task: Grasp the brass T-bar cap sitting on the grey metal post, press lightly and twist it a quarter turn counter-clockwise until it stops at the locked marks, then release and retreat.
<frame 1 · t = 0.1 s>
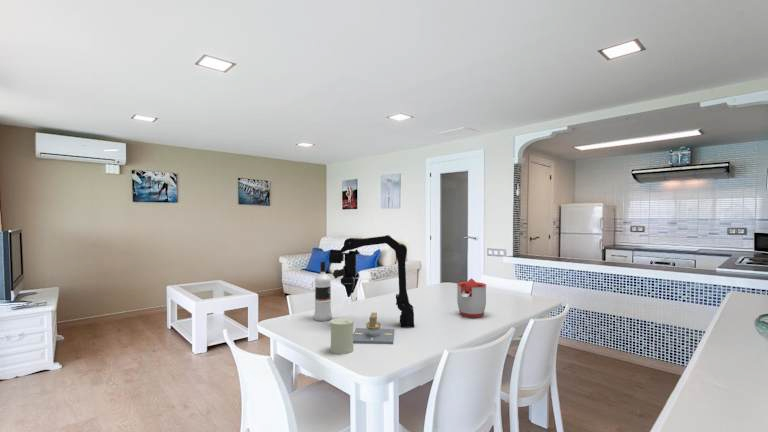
hand: (350, 295, 182), 15 cm above the table, fingers open, 9 cm apart
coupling: (373, 321, 163), point 7 cm above the table, hinge at 0.0°
can: (342, 350, 147), on the table
post base: (373, 336, 163), on the table
citrus juicer: (470, 316, 198), on the table
vodka: (322, 319, 192), on the table
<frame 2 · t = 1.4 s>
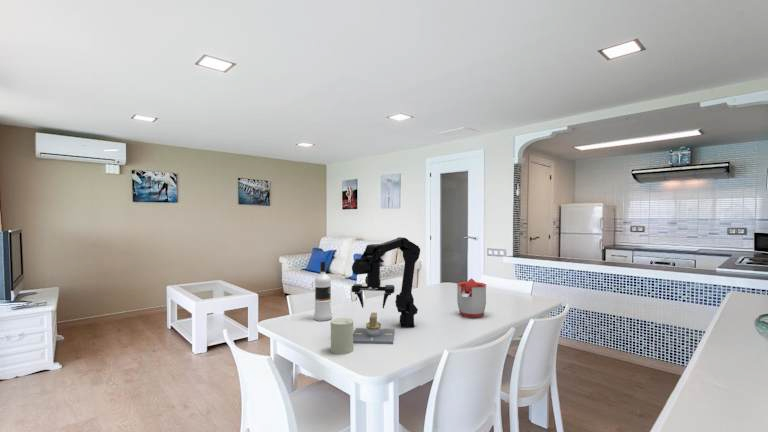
hand: (373, 307, 164), 12 cm above the table, fingers open, 9 cm apart
nothing on the table moved.
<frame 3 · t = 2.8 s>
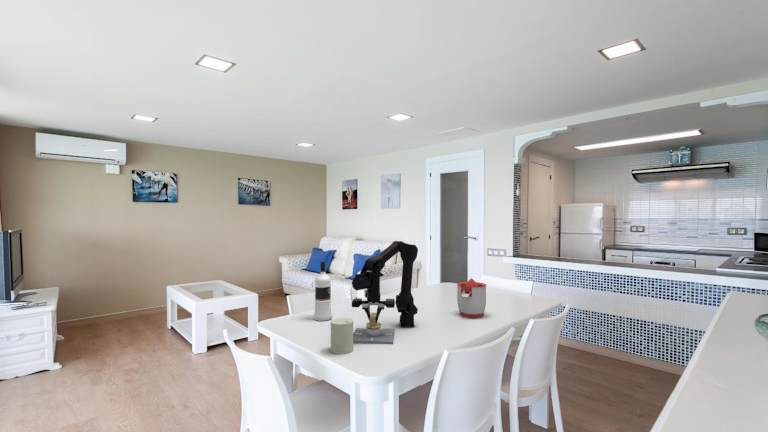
hand: (373, 322, 163), 6 cm above the table, fingers closed on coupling, 2 cm apart
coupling: (373, 321, 163), point 7 cm above the table, hinge at 0.0°, touching gripper
everything else where it was.
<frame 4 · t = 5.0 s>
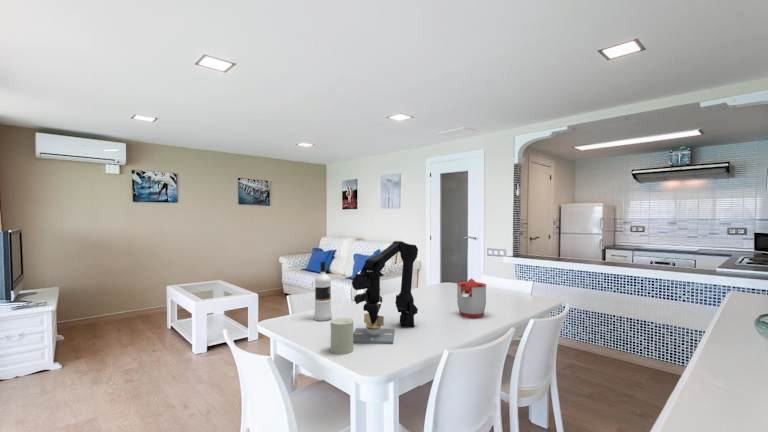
hand: (373, 322, 163), 6 cm above the table, fingers closed on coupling, 4 cm apart
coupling: (373, 321, 163), point 7 cm above the table, hinge at 54.2°, touching gripper
everything else where it was.
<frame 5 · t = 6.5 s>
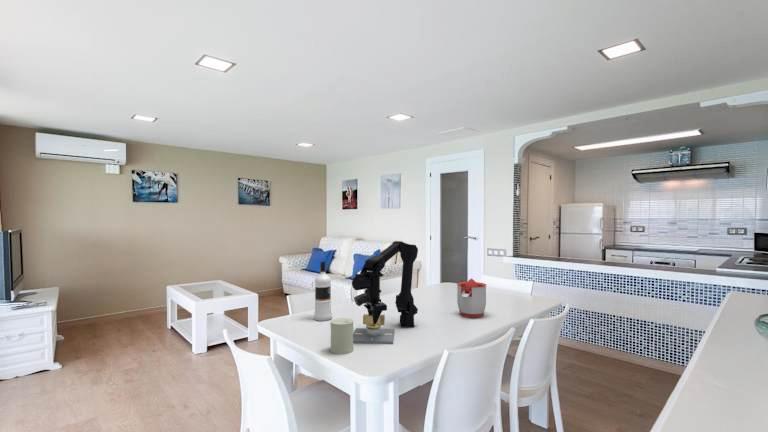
hand: (373, 322, 163), 6 cm above the table, fingers closed on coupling, 4 cm apart
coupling: (373, 321, 163), point 7 cm above the table, hinge at 86.4°, touching gripper
everything else where it was.
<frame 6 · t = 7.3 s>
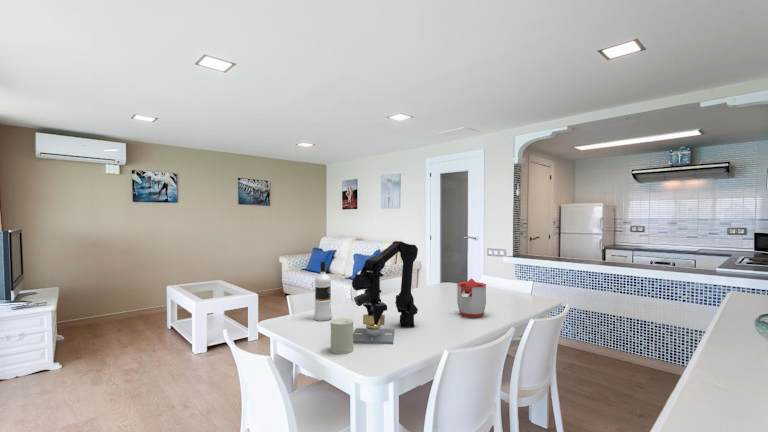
hand: (373, 322, 163), 6 cm above the table, fingers open, 6 cm apart
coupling: (373, 321, 163), point 7 cm above the table, hinge at 88.0°
everything else where it was.
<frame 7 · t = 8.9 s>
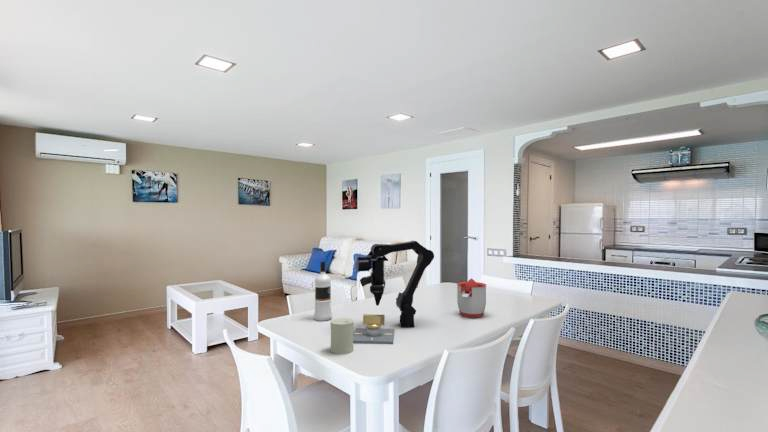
hand: (378, 303, 176), 12 cm above the table, fingers open, 9 cm apart
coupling: (373, 321, 163), point 7 cm above the table, hinge at 88.5°
everything else where it was.
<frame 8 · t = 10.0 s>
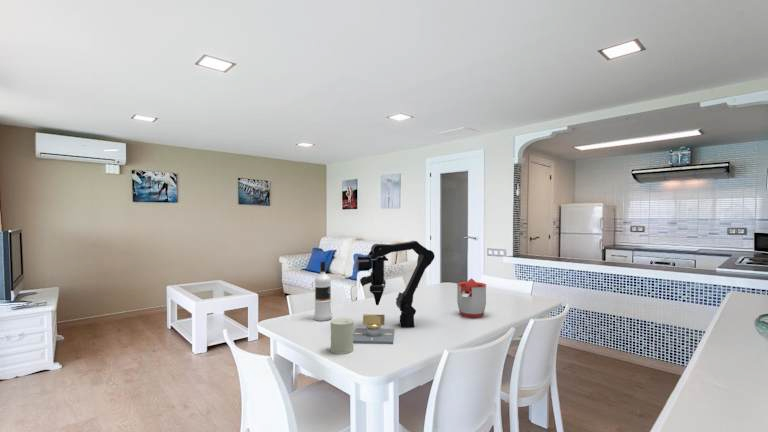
hand: (378, 302, 176), 12 cm above the table, fingers open, 9 cm apart
nothing on the table moved.
at the end: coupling at +88° (first picture: +0°); the gripper is holding nothing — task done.
